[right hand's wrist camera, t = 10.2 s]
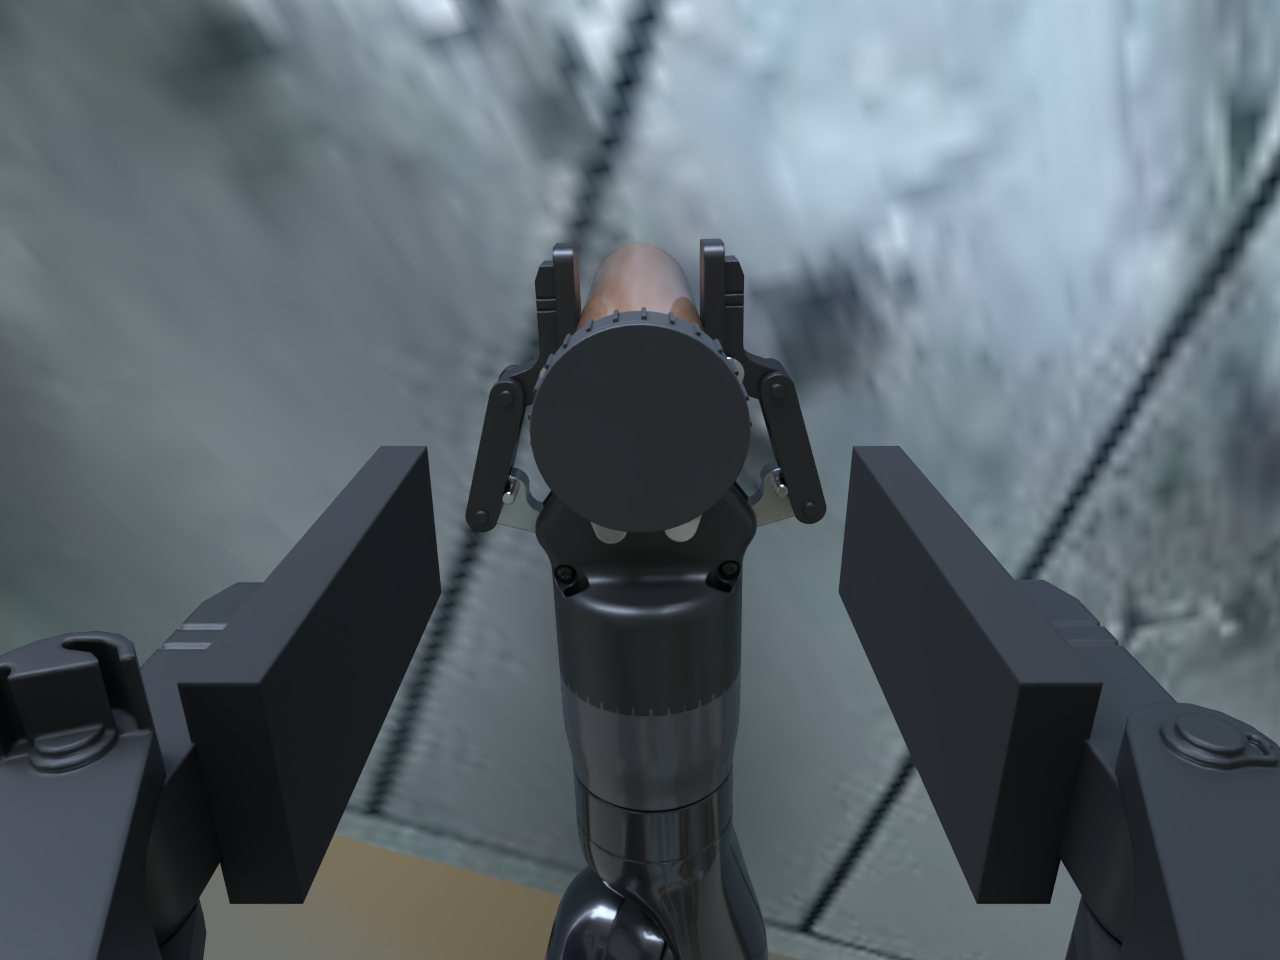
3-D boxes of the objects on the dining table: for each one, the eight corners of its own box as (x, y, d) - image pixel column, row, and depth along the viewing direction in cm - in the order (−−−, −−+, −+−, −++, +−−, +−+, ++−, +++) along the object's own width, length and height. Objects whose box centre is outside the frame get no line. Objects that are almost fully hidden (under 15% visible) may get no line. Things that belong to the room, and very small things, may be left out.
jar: (606, 231, 35) (574, 313, 18) (700, 259, 36) (757, 366, 18) (581, 325, 37) (529, 485, 19) (671, 352, 37) (699, 530, 20)
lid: (563, 279, 19) (557, 290, 17) (775, 341, 19) (786, 357, 18) (512, 479, 21) (503, 504, 19) (707, 531, 21) (712, 559, 20)
